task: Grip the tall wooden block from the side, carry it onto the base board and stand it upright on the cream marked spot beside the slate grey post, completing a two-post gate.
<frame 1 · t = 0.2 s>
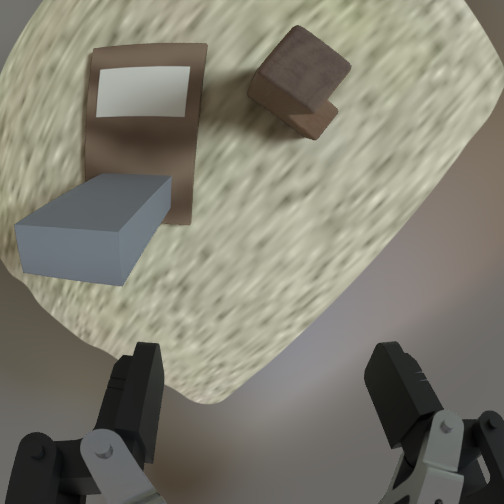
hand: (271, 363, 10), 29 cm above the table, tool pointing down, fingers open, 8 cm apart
wooden block: (287, 102, 33), on the table
base board: (140, 132, 33), on the table
slate post: (135, 190, 35), resting on base board
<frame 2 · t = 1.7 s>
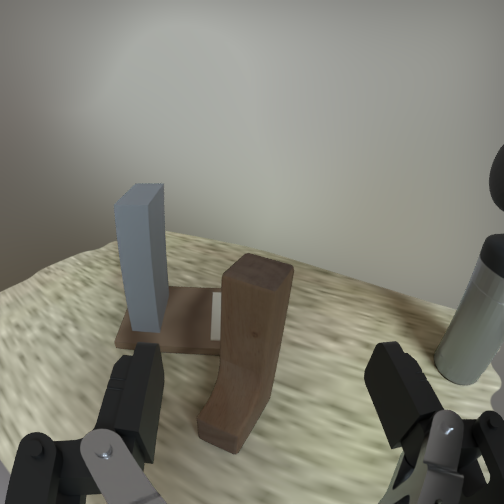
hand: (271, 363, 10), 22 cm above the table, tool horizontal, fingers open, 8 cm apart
wooden block: (236, 418, 30), on the table
base board: (198, 320, 45), on the table
slate post: (151, 311, 43), resting on base board
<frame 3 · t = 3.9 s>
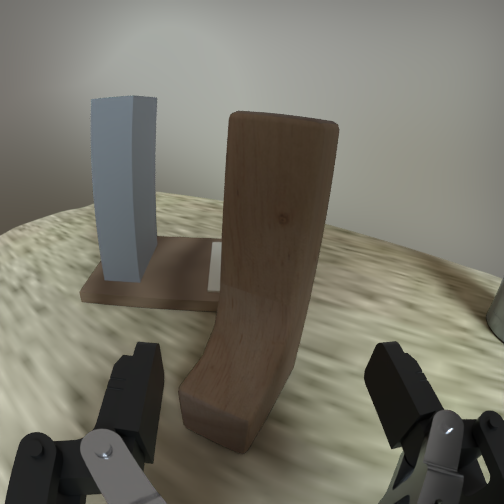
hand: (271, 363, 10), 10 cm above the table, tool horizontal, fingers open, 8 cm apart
wooden block: (243, 398, 20), on the table
base board: (192, 272, 35), on the table
slate post: (133, 260, 33), resting on base board
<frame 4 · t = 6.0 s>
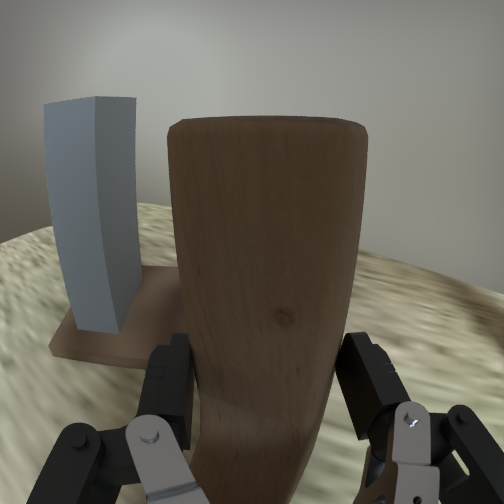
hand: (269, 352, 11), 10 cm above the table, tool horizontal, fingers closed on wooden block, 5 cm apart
wooden block: (251, 494, 13), on the table, touching gripper
base board: (184, 315, 28), on the table
slate post: (112, 301, 27), resting on base board
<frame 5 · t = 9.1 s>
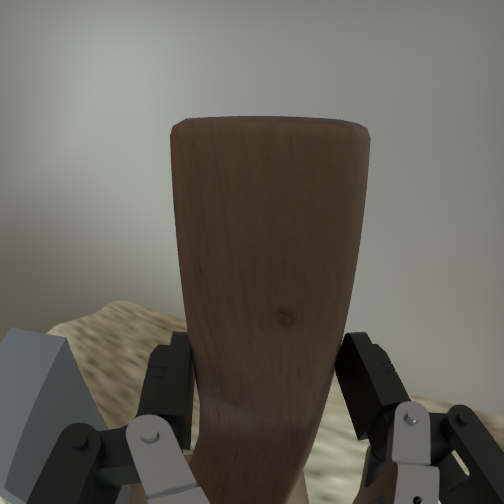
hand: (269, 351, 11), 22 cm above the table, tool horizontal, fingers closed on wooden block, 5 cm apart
wooden block: (249, 494, 13), point 12 cm above the table, touching gripper
when the fingers open (12 cm above the table, at t = 12.2 s): wooden block drops 1 cm, resting on base board.
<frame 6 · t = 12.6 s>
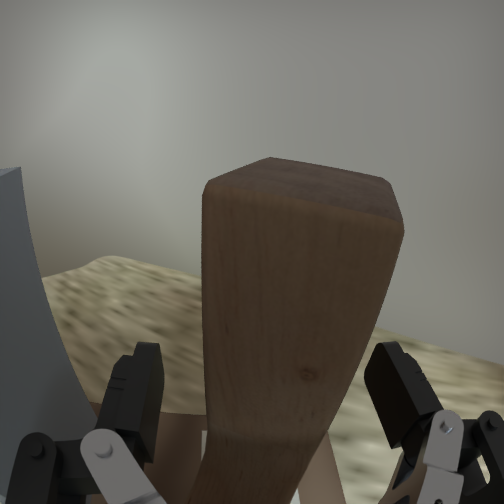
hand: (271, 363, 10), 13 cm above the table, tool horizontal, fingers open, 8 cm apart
wooden block: (244, 501, 14), point 1 cm above the table, touching base board
base board: (171, 502, 14), on the table
slate post: (67, 477, 13), resting on base board
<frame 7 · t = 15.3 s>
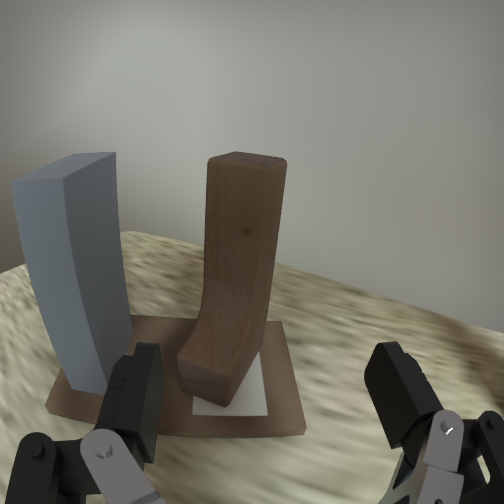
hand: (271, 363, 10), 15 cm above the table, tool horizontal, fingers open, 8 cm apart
wooden block: (224, 367, 27), point 1 cm above the table, touching base board
base board: (175, 373, 27), on the table
slate post: (104, 357, 26), resting on base board
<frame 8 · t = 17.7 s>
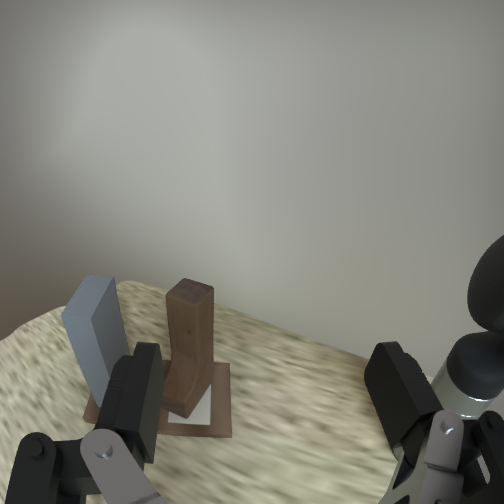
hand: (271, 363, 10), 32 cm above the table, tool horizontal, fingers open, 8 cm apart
wooden block: (188, 394, 42), point 1 cm above the table, touching base board
base board: (159, 396, 42), on the table
slate post: (116, 387, 41), resting on base board
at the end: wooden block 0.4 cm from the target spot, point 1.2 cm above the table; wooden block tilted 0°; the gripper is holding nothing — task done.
